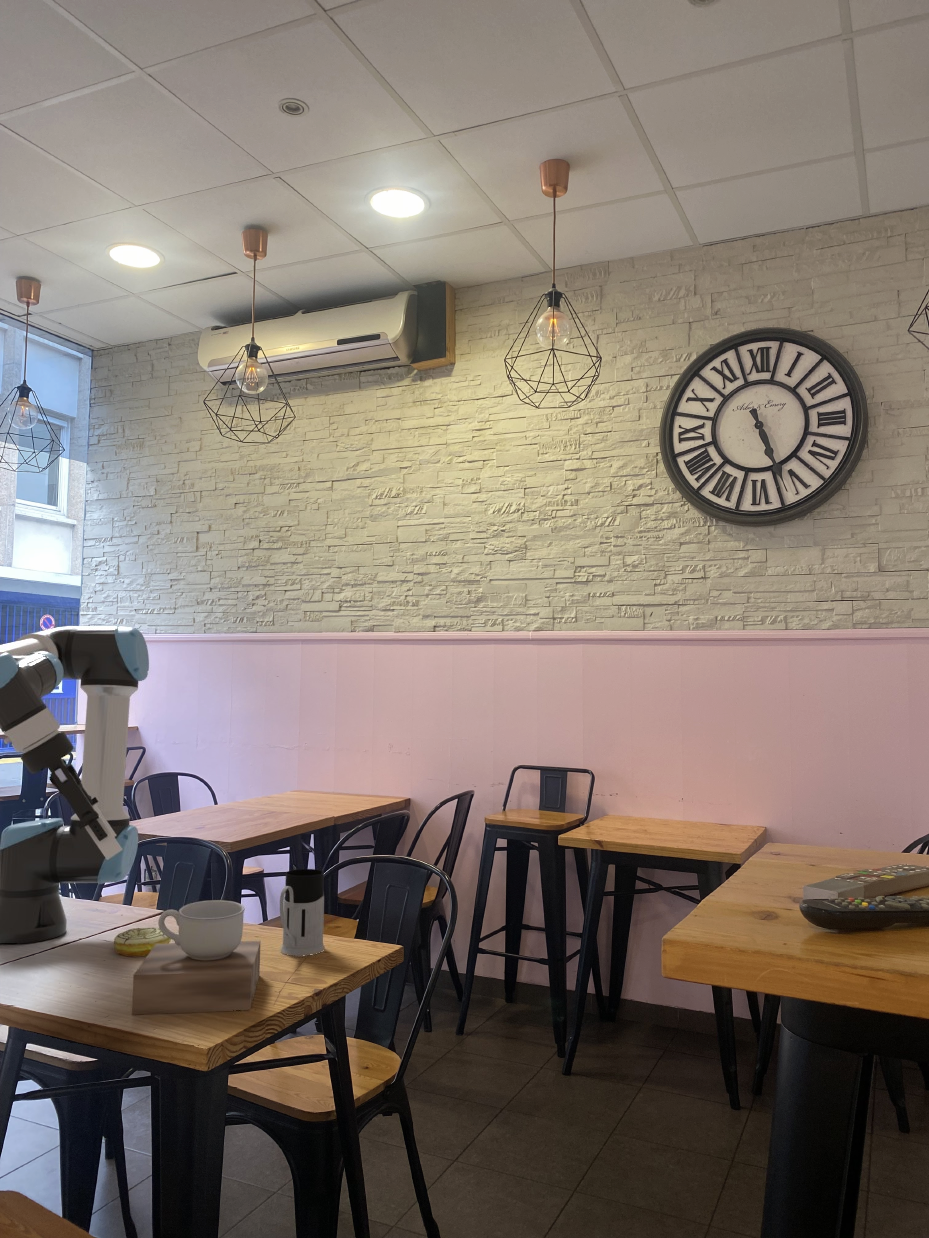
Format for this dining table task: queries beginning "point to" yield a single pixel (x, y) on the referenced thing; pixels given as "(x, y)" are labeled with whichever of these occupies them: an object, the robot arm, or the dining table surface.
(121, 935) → the decorated donut
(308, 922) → the glass holder
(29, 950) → the dining table surface
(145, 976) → the block
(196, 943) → the teacup
